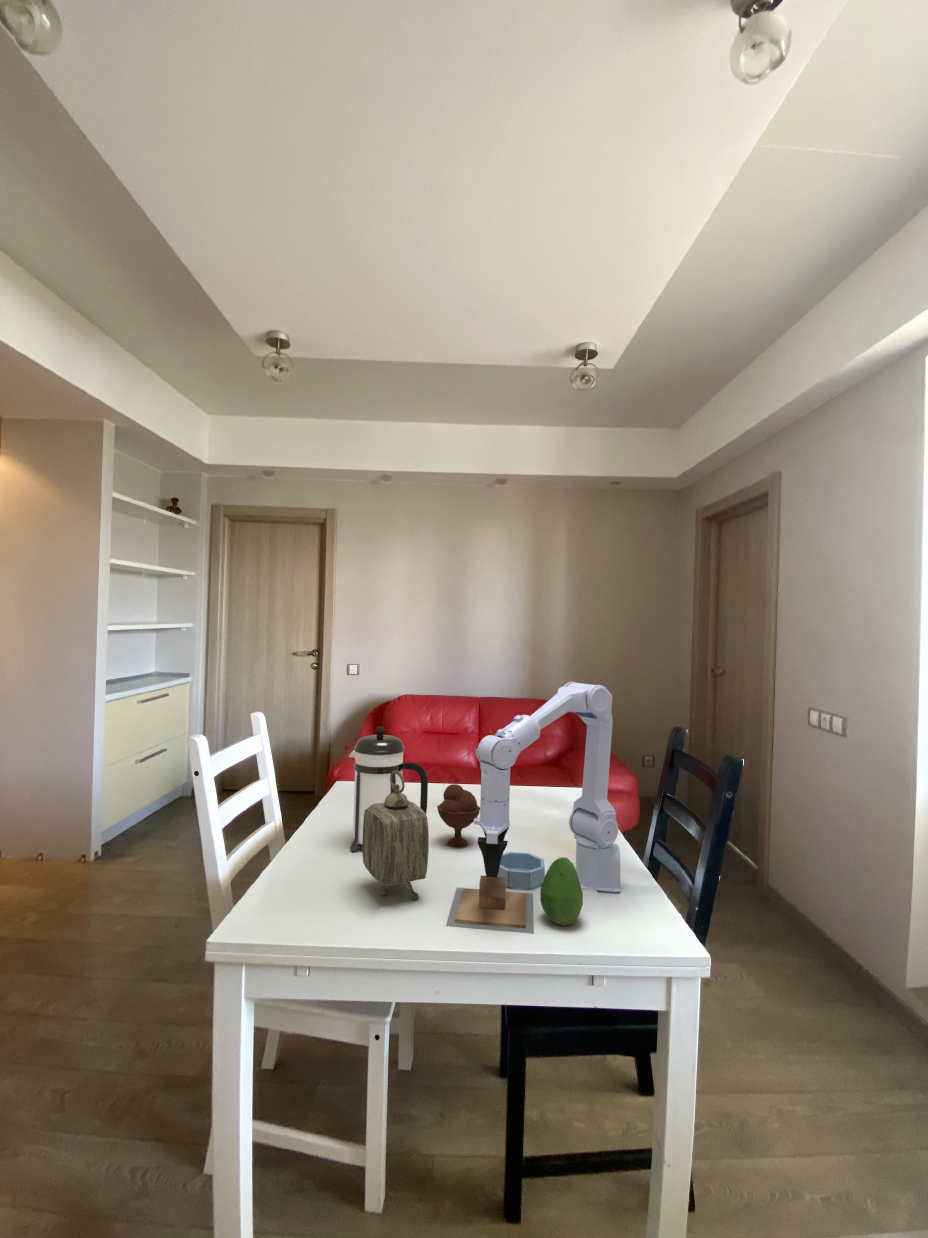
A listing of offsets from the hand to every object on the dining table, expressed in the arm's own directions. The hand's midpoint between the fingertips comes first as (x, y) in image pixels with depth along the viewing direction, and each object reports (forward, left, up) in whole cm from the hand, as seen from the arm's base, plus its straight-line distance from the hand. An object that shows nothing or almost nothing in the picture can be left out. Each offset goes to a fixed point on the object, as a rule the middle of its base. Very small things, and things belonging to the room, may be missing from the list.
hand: (493, 868), depth 110 cm
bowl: (-5, -15, -8) cm, 18 cm away
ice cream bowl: (+11, -34, -8) cm, 37 cm away
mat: (0, 0, -8) cm, 8 cm away
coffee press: (+30, -30, -8) cm, 43 cm away
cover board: (0, 0, -8) cm, 8 cm away
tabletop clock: (+21, -4, -8) cm, 23 cm away
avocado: (-13, +2, -8) cm, 16 cm away
